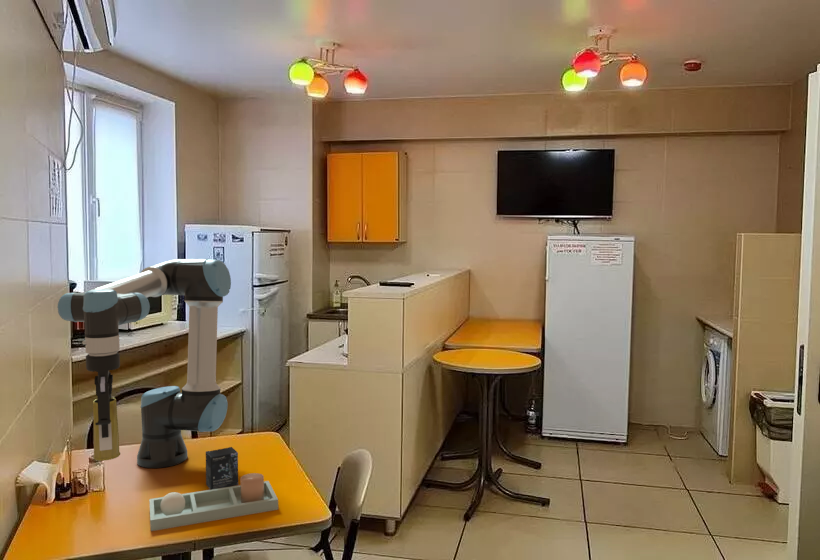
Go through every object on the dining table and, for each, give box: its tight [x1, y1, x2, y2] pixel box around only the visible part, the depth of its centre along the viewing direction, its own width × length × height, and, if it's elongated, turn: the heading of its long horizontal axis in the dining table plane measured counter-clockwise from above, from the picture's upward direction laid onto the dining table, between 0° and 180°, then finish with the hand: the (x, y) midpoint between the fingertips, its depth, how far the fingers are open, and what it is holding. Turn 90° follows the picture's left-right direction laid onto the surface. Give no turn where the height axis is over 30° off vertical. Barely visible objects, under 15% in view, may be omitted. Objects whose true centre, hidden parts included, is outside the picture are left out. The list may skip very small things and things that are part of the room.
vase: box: [92, 396, 121, 462], centre depth 159 cm, size 6×6×14 cm
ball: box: [160, 491, 185, 516], centre depth 164 cm, size 6×6×6 cm
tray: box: [149, 480, 279, 532], centre depth 169 cm, size 13×31×4 cm, turn 113°
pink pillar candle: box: [240, 472, 265, 503], centre depth 172 cm, size 6×6×7 cm
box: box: [205, 446, 239, 490], centre depth 185 cm, size 8×6×11 cm
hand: (106, 445), depth 159 cm, fingers closed on vase, 6 cm apart
